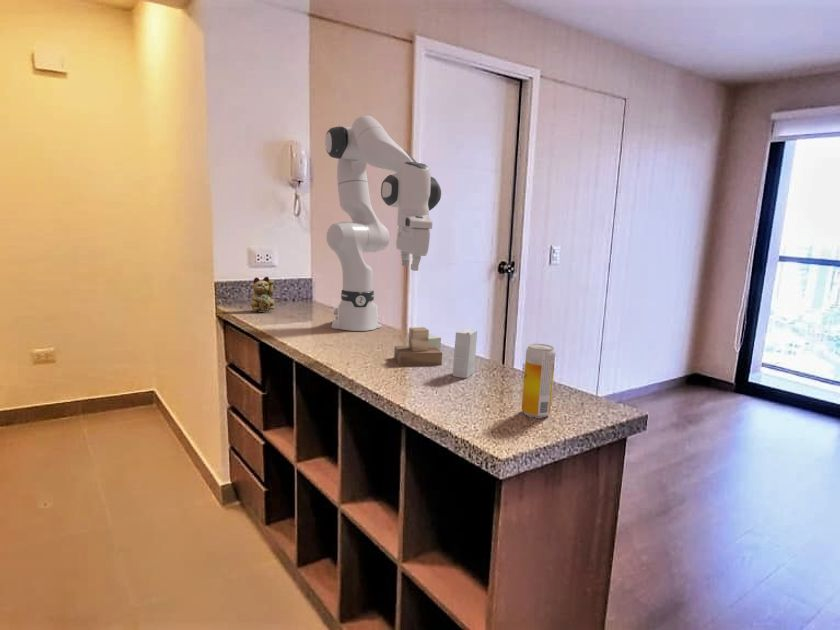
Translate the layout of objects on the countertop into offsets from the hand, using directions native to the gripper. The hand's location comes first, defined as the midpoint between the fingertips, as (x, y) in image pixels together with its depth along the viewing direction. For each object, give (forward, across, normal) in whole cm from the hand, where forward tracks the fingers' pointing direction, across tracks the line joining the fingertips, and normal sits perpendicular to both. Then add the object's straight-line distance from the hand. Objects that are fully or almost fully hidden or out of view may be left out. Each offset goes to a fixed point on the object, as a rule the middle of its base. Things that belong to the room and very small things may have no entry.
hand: (409, 268), depth 157 cm
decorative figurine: (+30, -81, -39) cm, 95 cm away
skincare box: (+26, +23, +10) cm, 36 cm away
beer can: (+24, +54, +14) cm, 61 cm away
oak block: (+23, +7, +2) cm, 24 cm away
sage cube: (+27, -3, +9) cm, 28 cm away
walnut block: (+27, +7, +2) cm, 28 cm away
